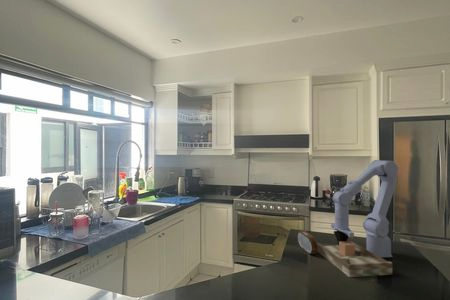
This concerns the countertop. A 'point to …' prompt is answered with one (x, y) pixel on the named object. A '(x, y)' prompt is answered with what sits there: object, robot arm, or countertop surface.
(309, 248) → the tin
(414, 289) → the countertop surface
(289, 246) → the countertop surface
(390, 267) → the mottled shallow tray
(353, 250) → the block
